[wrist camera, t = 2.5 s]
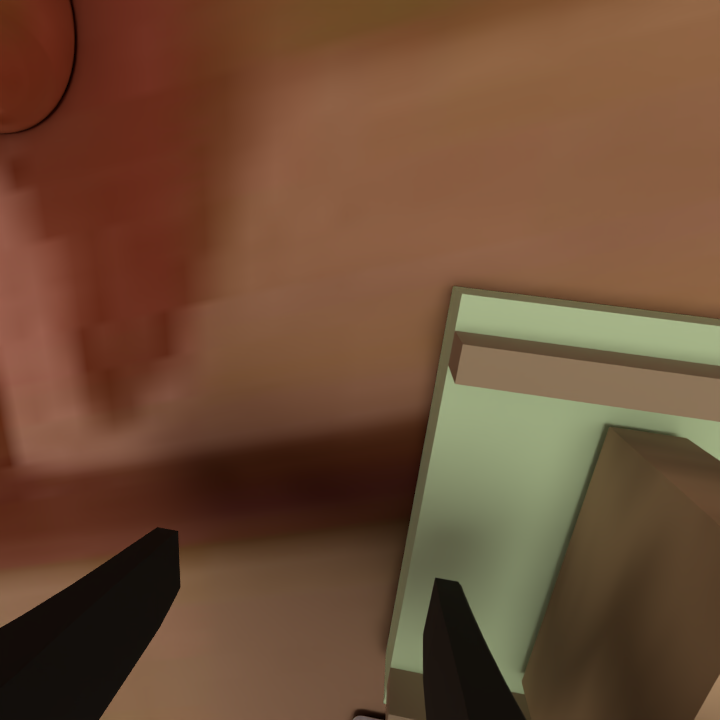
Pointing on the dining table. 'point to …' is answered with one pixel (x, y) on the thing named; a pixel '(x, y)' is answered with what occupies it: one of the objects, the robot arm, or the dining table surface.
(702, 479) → the wooden block
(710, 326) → the putting board
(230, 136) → the dining table surface
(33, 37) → the silver metal tumbler
